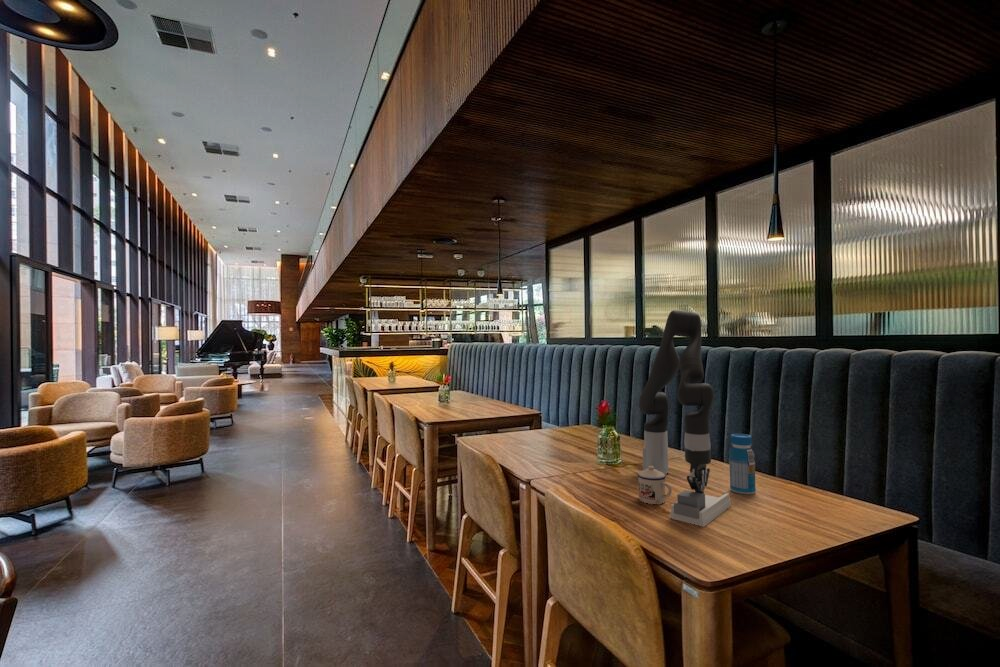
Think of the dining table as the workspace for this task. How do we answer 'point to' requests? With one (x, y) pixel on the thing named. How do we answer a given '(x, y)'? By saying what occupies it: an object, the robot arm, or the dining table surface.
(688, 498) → the slider block
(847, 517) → the dining table surface
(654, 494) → the teacup with lid
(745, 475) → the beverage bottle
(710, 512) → the slide rail
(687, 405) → the robot arm
